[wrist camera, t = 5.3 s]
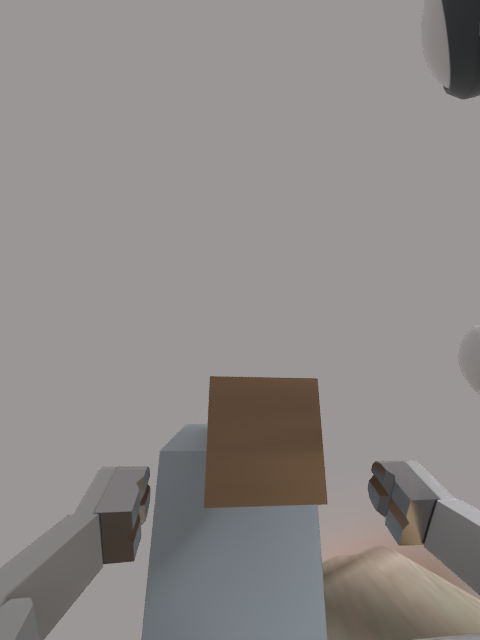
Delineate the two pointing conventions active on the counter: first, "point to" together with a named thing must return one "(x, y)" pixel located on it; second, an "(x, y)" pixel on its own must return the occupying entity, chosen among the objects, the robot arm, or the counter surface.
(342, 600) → the counter surface
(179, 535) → the stand
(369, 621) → the counter surface
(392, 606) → the counter surface
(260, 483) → the walnut bar
